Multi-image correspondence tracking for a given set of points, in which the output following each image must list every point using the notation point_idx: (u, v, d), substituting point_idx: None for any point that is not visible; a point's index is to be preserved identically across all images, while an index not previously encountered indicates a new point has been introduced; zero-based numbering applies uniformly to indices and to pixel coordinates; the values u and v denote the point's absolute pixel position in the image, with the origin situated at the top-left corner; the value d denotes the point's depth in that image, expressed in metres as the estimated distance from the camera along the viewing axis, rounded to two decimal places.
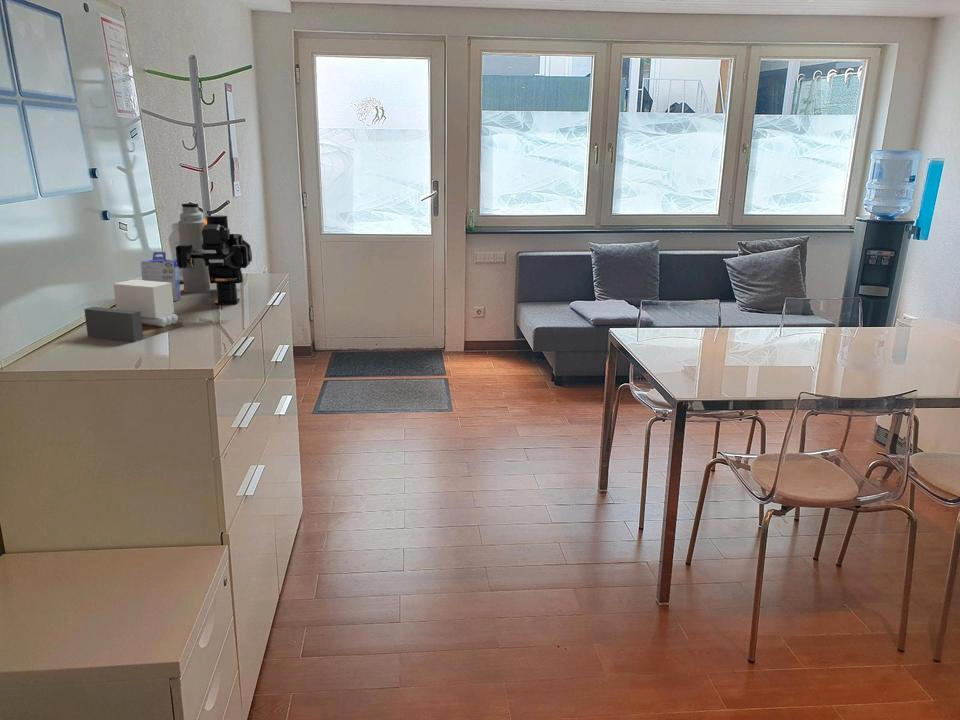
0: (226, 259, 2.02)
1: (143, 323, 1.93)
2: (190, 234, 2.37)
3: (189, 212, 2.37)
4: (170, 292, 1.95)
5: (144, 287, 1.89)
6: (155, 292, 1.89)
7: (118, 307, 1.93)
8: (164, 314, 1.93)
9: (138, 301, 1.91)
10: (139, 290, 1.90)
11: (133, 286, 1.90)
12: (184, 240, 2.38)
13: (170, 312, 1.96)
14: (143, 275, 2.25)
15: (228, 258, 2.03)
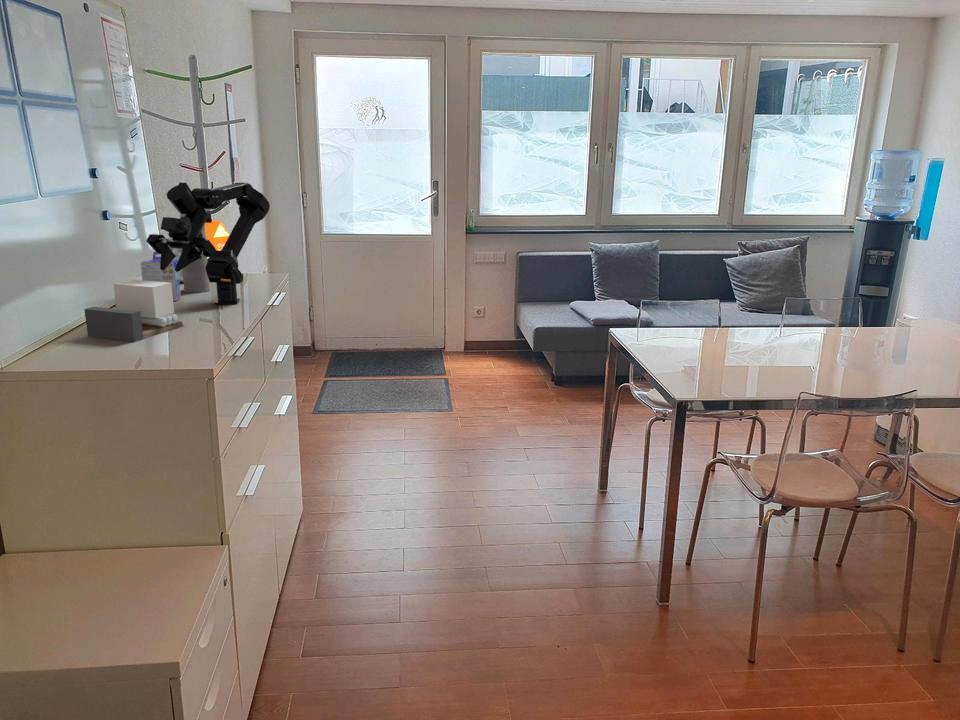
0: (178, 267, 2.02)
1: (143, 323, 1.93)
2: None
3: None
4: (170, 292, 1.95)
5: (144, 287, 1.89)
6: (155, 292, 1.89)
7: (118, 307, 1.93)
8: (164, 314, 1.93)
9: (138, 301, 1.91)
10: (139, 290, 1.90)
11: (133, 286, 1.90)
12: None
13: (170, 312, 1.96)
14: (143, 275, 2.25)
15: (180, 264, 2.02)
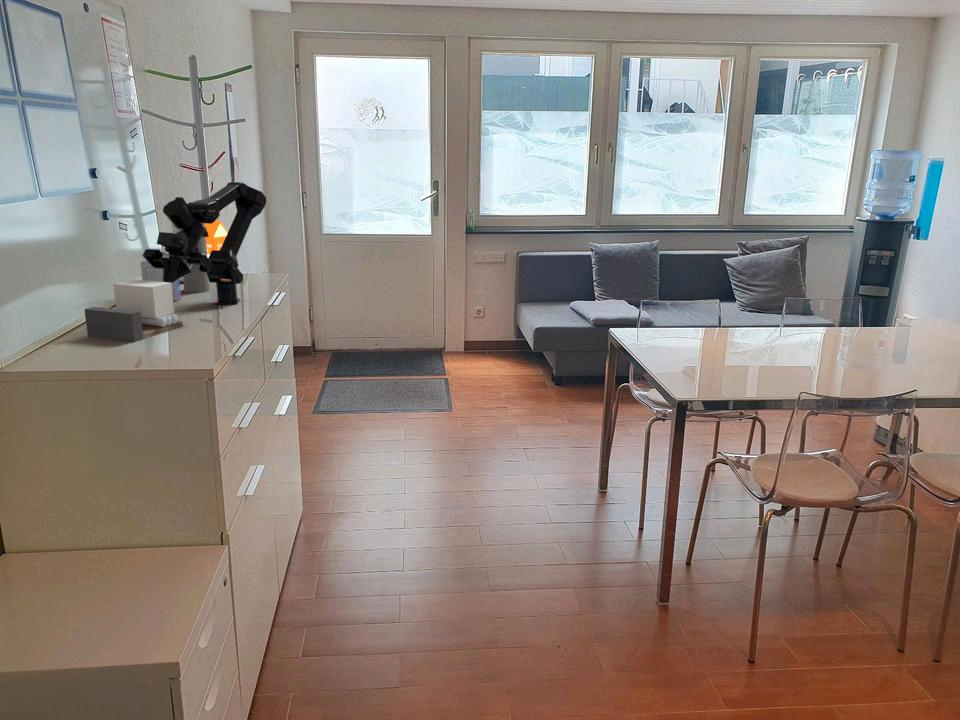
0: None
1: (143, 323, 1.93)
2: None
3: None
4: (170, 292, 1.95)
5: (144, 287, 1.89)
6: (155, 292, 1.89)
7: (118, 307, 1.93)
8: (164, 314, 1.93)
9: (138, 301, 1.91)
10: (139, 290, 1.90)
11: (133, 286, 1.90)
12: None
13: (170, 312, 1.96)
14: (143, 275, 2.25)
15: (170, 278, 2.02)
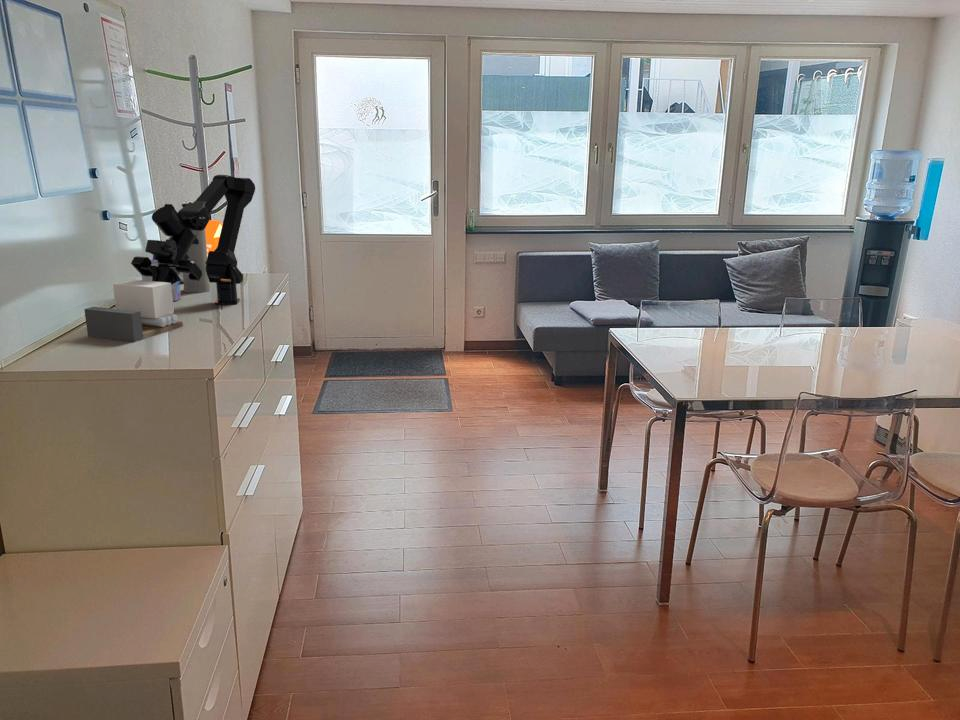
0: None
1: (143, 323, 1.93)
2: None
3: None
4: (169, 292, 1.95)
5: (144, 287, 1.89)
6: (154, 293, 1.89)
7: (118, 307, 1.93)
8: (164, 314, 1.93)
9: (138, 301, 1.91)
10: (138, 290, 1.90)
11: (133, 286, 1.90)
12: None
13: (170, 312, 1.95)
14: None
15: None
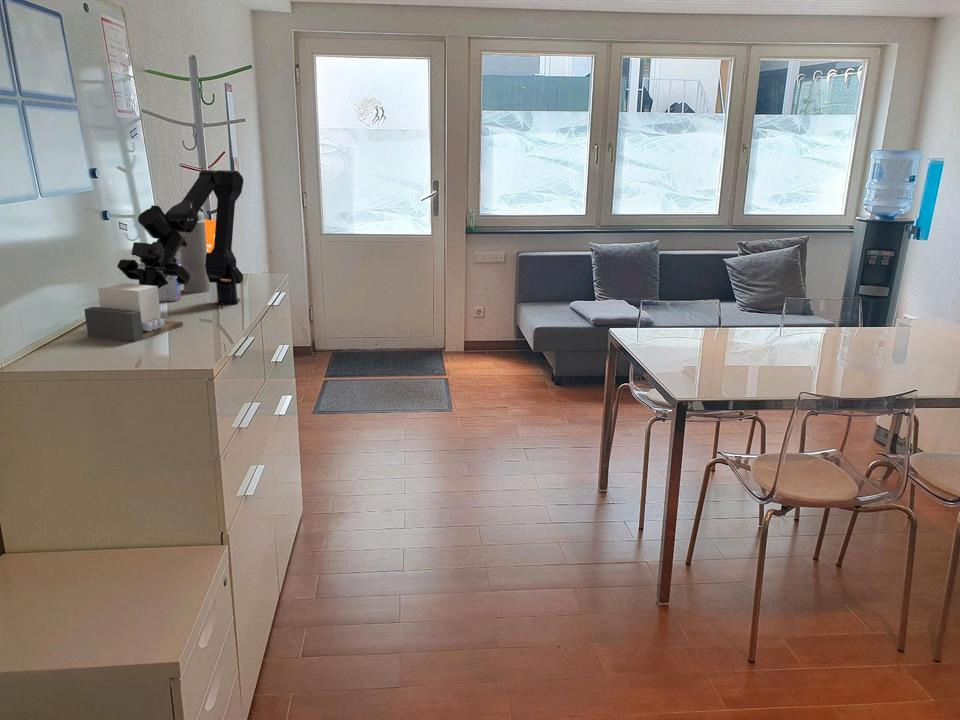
0: None
1: None
2: (190, 234, 2.37)
3: None
4: (156, 296, 1.90)
5: (129, 291, 1.84)
6: (140, 296, 1.85)
7: None
8: (150, 318, 1.89)
9: (124, 305, 1.86)
10: (124, 294, 1.85)
11: (118, 290, 1.85)
12: None
13: (156, 316, 1.91)
14: None
15: None
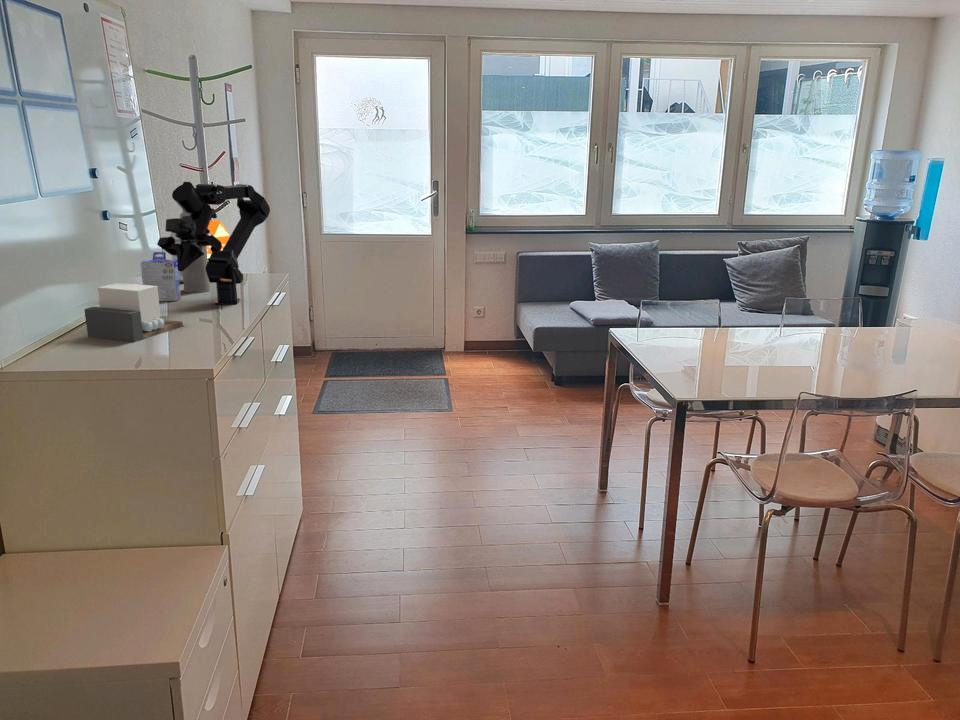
0: (181, 267, 2.05)
1: None
2: None
3: None
4: (156, 296, 1.90)
5: (129, 291, 1.84)
6: (140, 296, 1.84)
7: None
8: (150, 318, 1.89)
9: (123, 305, 1.86)
10: (124, 294, 1.85)
11: (118, 290, 1.85)
12: None
13: (156, 316, 1.91)
14: (143, 275, 2.25)
15: (183, 263, 2.05)
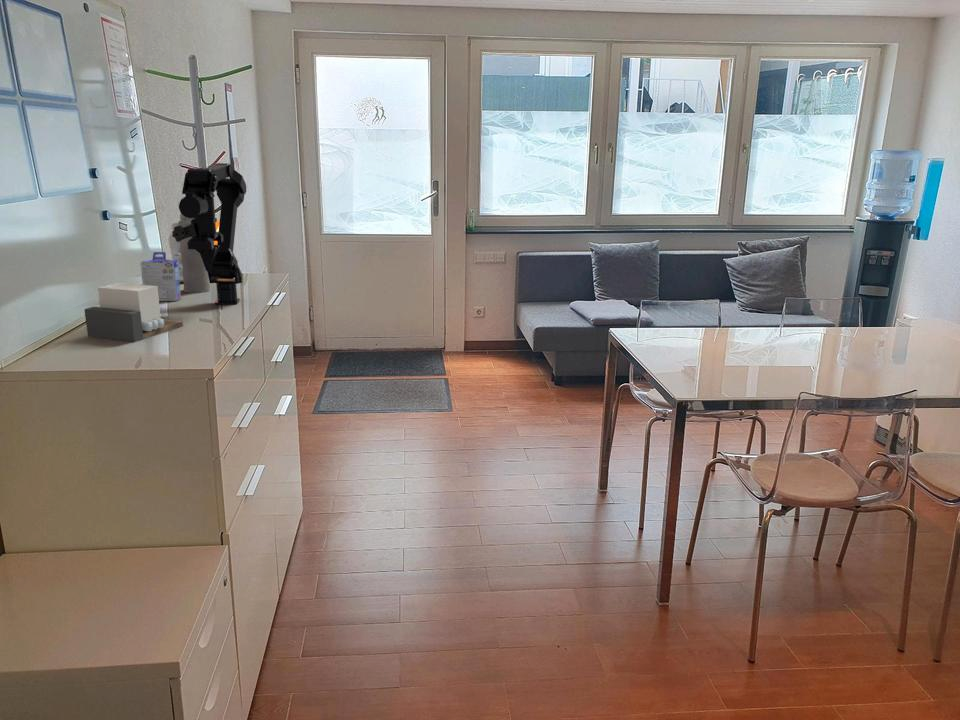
0: (206, 268, 2.11)
1: None
2: None
3: None
4: (156, 296, 1.90)
5: (129, 291, 1.84)
6: (140, 296, 1.84)
7: None
8: (150, 318, 1.89)
9: (123, 305, 1.86)
10: (124, 294, 1.85)
11: (118, 290, 1.85)
12: (184, 240, 2.38)
13: (156, 316, 1.91)
14: (143, 275, 2.25)
15: (205, 264, 2.10)
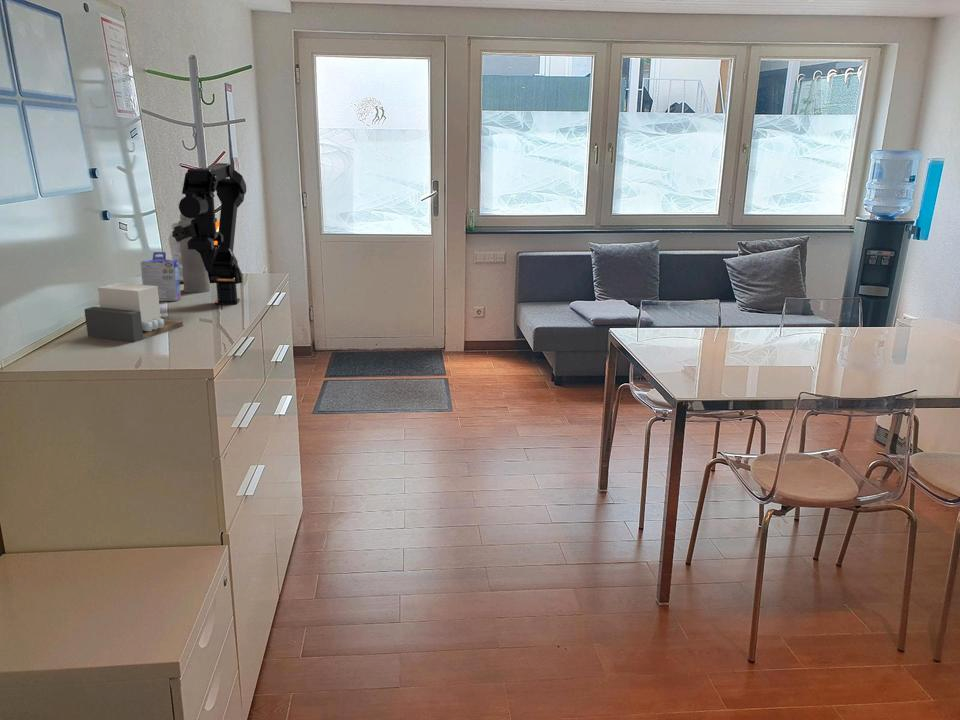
0: (206, 268, 2.11)
1: None
2: None
3: None
4: (156, 296, 1.90)
5: (129, 291, 1.84)
6: (140, 296, 1.84)
7: None
8: (150, 318, 1.89)
9: (123, 305, 1.86)
10: (124, 294, 1.85)
11: (118, 290, 1.85)
12: (184, 240, 2.38)
13: (156, 316, 1.91)
14: (143, 275, 2.25)
15: (205, 264, 2.10)
